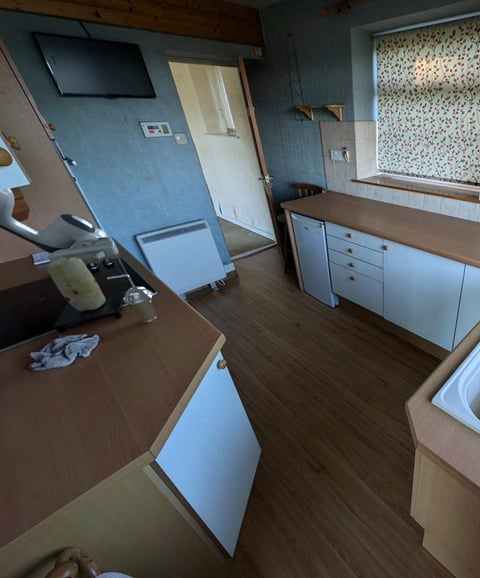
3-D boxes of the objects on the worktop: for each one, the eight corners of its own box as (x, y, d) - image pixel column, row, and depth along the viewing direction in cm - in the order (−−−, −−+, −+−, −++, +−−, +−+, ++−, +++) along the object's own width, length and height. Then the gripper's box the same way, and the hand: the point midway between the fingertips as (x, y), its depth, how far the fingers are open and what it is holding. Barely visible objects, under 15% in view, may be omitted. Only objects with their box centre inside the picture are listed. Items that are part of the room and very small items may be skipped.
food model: (105, 299, 116) (78, 253, 105) (110, 305, 112) (82, 258, 102) (73, 310, 109) (40, 262, 99) (76, 316, 106) (43, 267, 95)
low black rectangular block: (57, 333, 103) (52, 326, 101) (71, 310, 114) (66, 304, 113) (121, 318, 110) (118, 311, 109) (128, 298, 122) (124, 291, 121)
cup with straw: (159, 323, 108) (136, 276, 97) (130, 328, 105) (103, 280, 95) (166, 310, 114) (144, 265, 104) (138, 315, 112) (113, 269, 101)
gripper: (51, 245, 117) (38, 258, 106) (115, 236, 125) (109, 247, 115) (60, 260, 120) (48, 273, 110) (122, 250, 129) (116, 262, 119)
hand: (80, 260), depth 113 cm, fingers open, 8 cm apart
